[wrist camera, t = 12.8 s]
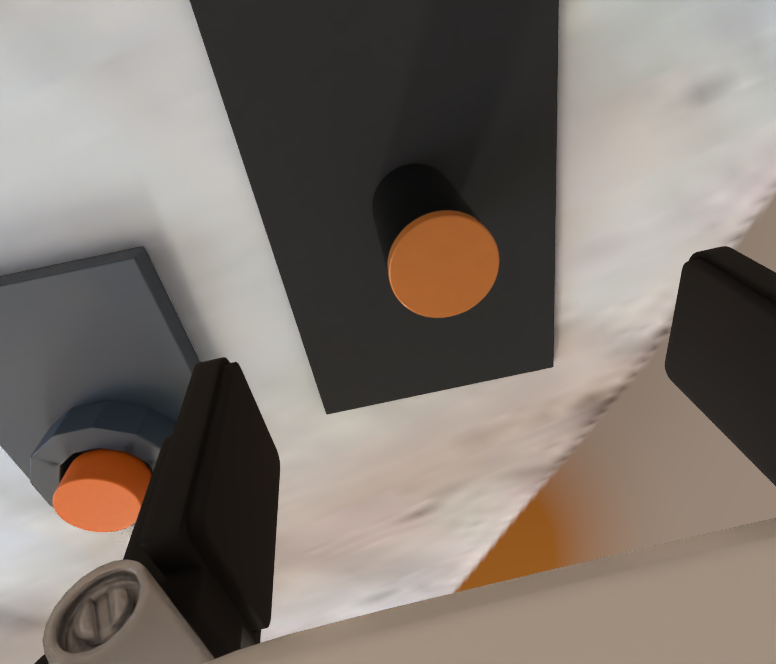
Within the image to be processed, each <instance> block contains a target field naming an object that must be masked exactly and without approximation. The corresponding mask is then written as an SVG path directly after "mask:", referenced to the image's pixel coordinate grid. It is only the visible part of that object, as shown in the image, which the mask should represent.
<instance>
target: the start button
mask: <svg viewBox="0 0 776 664" xmlns="http://www.w3.org/2000/svg"><path fill="white" fill-rule="evenodd" d="M151 476H152V473H151V471H150V469H149V468H148V466H147V465H146V464H145V463H144V462H143V461H142V460H140V459H139V458H137V457H135V456H134V455H132V454H129V453H127V452H123V451H116V450H110V449H96V450H91V451H88V452H85V453H83V454H81V455H79V456H78V457H76V458H75V459H74V460H73V461H72V463H71V464H70V466H69V468H68V470H67V471H66V473H65V475H64V477H63V478H62V480H61V482H60V484H59V485H58V487H57V489H56V491H55V492H54V495H53V507H54V509H55V511H56V512H57V514H58V515H59V516H60V517H61V518H62V519H63V520H65V521H66V522H68V523H69V524H71V525H73V526H75V527H78V528H81V529H84V530H88V531H94V532H113V531H118V530H122V529H125V528H127V527H129V526H131V525H133V524H134V523H135V522H136V520H137V517H138V514H139V511H140V508H141V505H142V502H143V499H144V496H145V493H146V491H147V488H148V485H149V482H150V479H151Z"/></svg>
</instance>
